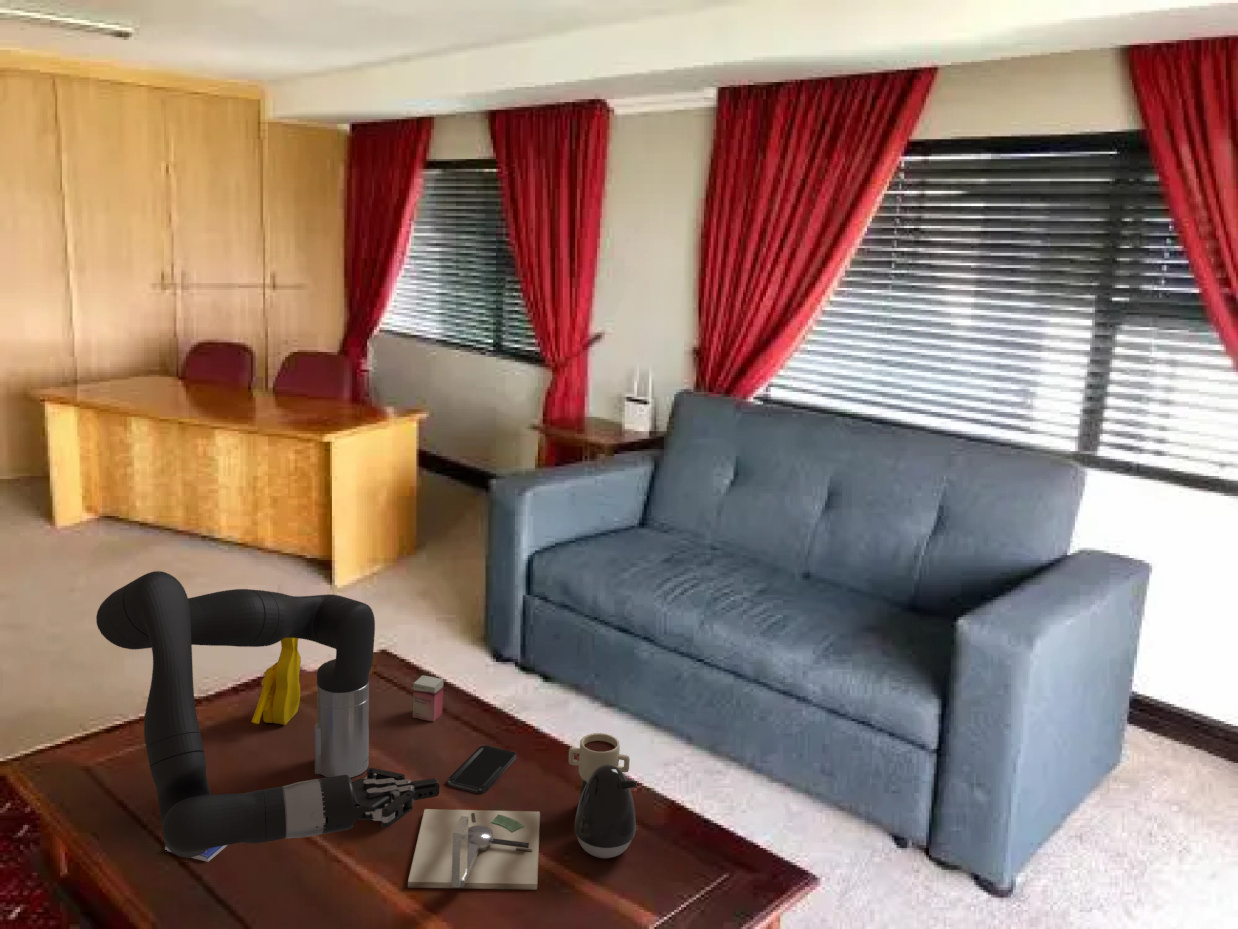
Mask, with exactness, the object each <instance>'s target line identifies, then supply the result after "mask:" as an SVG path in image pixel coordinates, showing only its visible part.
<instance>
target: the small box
mask: <svg viewBox="0 0 1238 929" xmlns="http://www.w3.org/2000/svg"><path fill="white" fill-rule="evenodd" d="M412 690H413V691H412V693H413V694H412V695H413V696H412V718H413V719H419V720H422V721H423V720H424V721H428V722H431V723H432V722H435V721H437V719H439V717H441V715H442V714H443V705H444V703H443V702H444V701H443V700H444V679H442V678H437V677H434V676H429V675H422V674H421V676H420V677H419V678H417V679H416V680H415V681H414V682H413V689H412Z"/></svg>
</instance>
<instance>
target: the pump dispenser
mask: <svg viewBox="0 0 1238 929" xmlns="http://www.w3.org/2000/svg"><path fill="white" fill-rule="evenodd" d="M637 785H638V783H637V781H636V780H633V779H631V780H630V779H629V780H628V779H627V778H626V775H625V774H624V772H622V771H621V770H620V769H619V768H618V767H616V766H613V765H602V766H600V767H598V768H597V769H596V770H595V771H594V772H593V774H592V775H591V777H590V778H589V780H588V782H587V784H586V786H585V788H584V790H583V793H582V795H581V798H580V797H579V799H580V801H579V800H578V805H577V809H576V812H575V813H576V814H575V819H574V832H575V835H576V837H577V841H578V843H579V844H580V846H581V848H582V849H583V850H584V851H585V852H586V853H587V854H588V855H589V854H590V855H591V856H593V857H596V858H599V859H610V858H615V857H618V856H620V855H621V854H623V853H624V852H625V851H626V850H627V849H628V847H629V846H630V845H631V843H632V841H633V839H634V837H635V835H636V828H637V826H636V825H637V823H636V820H637V819H636V811H635V810H636V809H635V803H634V798H633V794H632V791H631V788H636V787H637Z"/></svg>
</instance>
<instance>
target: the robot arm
mask: <svg viewBox="0 0 1238 929" xmlns="http://www.w3.org/2000/svg"><path fill="white" fill-rule="evenodd" d="M95 620H96V621H95V622H96V626H97V628H98V630H99V632H100V634H101V635H102V636H103V637H104V638H105V640H107V641H108V642H110V643H111V644H112V645H115V646H117V647H119V648H122V649H127V650H145V649H151V654H152V672H151V681H150V682H151V683H150V686H149V687H150V689H149V692H148V696H147V703H146V706H145V713H144V719H143V720H144V722H143V731H144V732H143V733H144V734H143V735H144V742H145V749H146V752H147V759H148V765H149V769H150V773H151V776H152V780H153V783H154V786H155V788H156V792H157V802H158V807H159V808H158V809H159V816H160V821H161V830H162V836H163V841H164V844H165V846H167V847H168V849H169V850H170V851H171V852H170V853H172V854H173V855H176V856H178V857H180V858H181V857H182V858H191V857H195V856H198V855H200V854H202V853H204V852H205V851H207V850H208V849H209V848H214V847H219V846H225V845H227V846H229V845H234V844H239V843H244V844H249V845H251V844H262V843H267V842H273V841H278V840H279V841H280V840H284V839H293V838H294V839H296V838H297V839H298V838H299V839H300V838H308V837H314V836H319V835H325V834H331V833H336V832H337V833H338V832H342V831H348V830H351V829H352V828H354V827H355V826H354V825H355V823H356V822H357V821H359V820H360V821H361V820H362V821H371V820H372V819H374V818H376V819H378V820H380V821H379V822H381V827H382V828H389V827H390V826H392V825H393V824H395V823H396V822H397V821H399V820H401V818H403V817H404V816H406V815H408V814H409V813H411V812H412V811H413V805H414V803H415V801H419V800H420V801H421V800H424V799H425V800H426V799H429V798H435V797H438V796H439V794H440V783H439V780H438V779H437V778H436V777H433V778H426V779H420V780H413V781H412V780H411V779H409V778H408V779H407V778H406V777H405V774H404V773H399V772H395V771H390V770H385V769H380V768H375V767H369V765H370V764H369V761H370V760H369V759H370V751H369V750H370V748H369V747H370V736H369V735H370V720H369V719H370V718H369V716H370V715H369V714H370V712H369V710H370V709H369V708H370V707H369V706H370V673H371V669H372V667H373V660H374V650H375V649H374V647H375V646H374V645H375V632H376V621H375V616H374V611H373V609H372V608H371V607H370V605H369V604H367V603H366V602H362V601H359V600H357V599H352V598H350V597H346V596H341V595H338V594H319V595H318V594H317V595H303V596H302V595H301V596H299V595H295V596H294V595H291V594H285V593H283V592H282V593H281V592H278V591H276V592H275V591H269V590H260V589H248V588H236V589H229V590H228V589H227V590H221V591H217V592H211V593H206V594H202V595H198V596H193V597H189V598H188V594H187V592H186V590H185V587H184V586H183V585H182V583H181V581H179V580H178V579H177V578H176V577H175V576H173V575H172V574H170V573H167V572H166V571H165V572H164V571H161V570H157V571H156V570H155V571H154V570H153V571H150V572H147V573H145V574H143V575H141V576H139V577H137V578H135V579H134V580H133V581H130V582H129V583H127V584H125V585H123V586H121V587H120V588H118V589H116V590H114V591H113V592H112V593H110V594H109V595H108V596H107V597H106V598H105V599H104V600H103V601H102V602H101V603H100V605H99V608H98V610H97V612H96V619H95ZM284 638H299V639H298V640H306V641H311V642H315V643H316V644H320V645H323V646H325V647H328V648H332V649H333V650H334V649H335V658H334V659H330V660H328V661H326V662H324V663H322V664H321V665H320V666H319V667H318V669H317V672H316V704H317V705H316V710H317V711H316V713H317V714H316V716H317V717H316V719H317V720H316V723H315V725H314V730H313V732H314V738H313V739H314V774H315V775H322V776H323V778H315V779H310V780H309V779H308V780H302V781H297V782H293V783H290V784H286V785H283V786H277V787H270V788H264V789H258V790H257V789H256V790H253V791H249V792H242V793H219V794H218V793H217V794H216V793H215V794H212V793H211V789H210V785H209V782H208V777H207V759H206V753H205V749H204V744H203V739H202V734H201V729H200V725H199V720H198V715H197V714H198V713H197V709H196V708H197V707H196V701H195V691H194V674H193V668H194V667H193V645H194V646H210V647H213V646H214V647H215V646H217V647H222V646H223V647H225V646H227V647H240V648H241V647H243V648H247V647H249V648H259V647H260V648H261V647H269V646H273V645H275V644H277V643H279V642H281V640H282V639H284ZM364 772H366V776H365V777H364V778H358V779H357V778H356V779H355V780H354V781H353V780H352V779H351V778H354V777H357V776H359V775H361V774H363V773H364ZM372 821H373V820H372Z"/></svg>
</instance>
